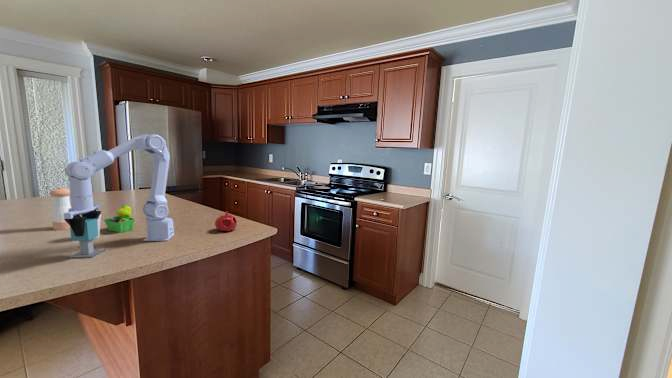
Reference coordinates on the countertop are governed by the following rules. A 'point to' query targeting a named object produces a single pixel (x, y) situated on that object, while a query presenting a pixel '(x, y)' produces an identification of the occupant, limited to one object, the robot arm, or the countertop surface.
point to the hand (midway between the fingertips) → (85, 233)
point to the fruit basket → (121, 220)
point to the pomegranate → (226, 222)
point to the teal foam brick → (87, 231)
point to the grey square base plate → (87, 250)
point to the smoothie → (98, 225)
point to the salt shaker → (60, 207)
